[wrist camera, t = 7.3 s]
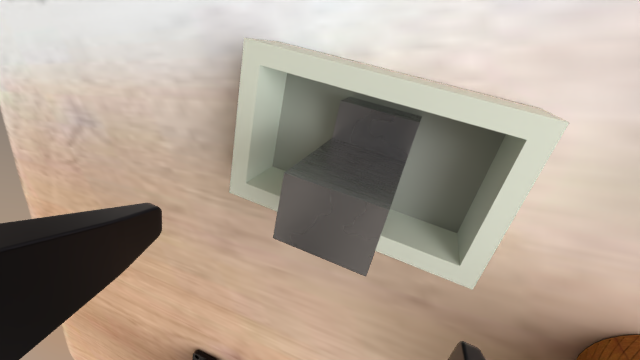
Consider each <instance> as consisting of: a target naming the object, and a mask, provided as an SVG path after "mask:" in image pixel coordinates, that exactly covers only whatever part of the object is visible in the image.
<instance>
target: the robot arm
mask: <svg viewBox="0 0 640 360" xmlns="http://www.w3.org/2000/svg"><path fill="white" fill-rule="evenodd" d="M161 231H162V211H161V209H160V208H159V207H158V206H155V205H153V204H151V203H142V204H135V205H128V206H121V207H114V208H107V209H100V210H93V211H86V212H79V213H71V214H64V215H57V216H50V217H43V218H36V219H30V220H22V221H16V222H8V223H1V224H0V360H19V359H20V358H22V357H23V356H24V355H25V354H26V353H28V352H29V351H30V350H31V349H32V348H34V347H35V346H36V345H37V344H38V343H40V342H41V341H42V340H43V339H44V338H46V337H47V336H48V335H49V334H50V333H51V332H53V331H54V330H55V329H56V328H57V327H59V326H60V325H61V324H62V323H63V322H65V321H66V320H67V319H68V318H69V317H71V316H72V315H73V314H74V313H75V312H77V311H78V310H79V309H80V308H81V307H82V306H84V305H85V304H86V303H87V302H88V301H90V300H91V299H92V298H93V297H94V296H96V295H97V294H98V293H99V292H100V291H102V290H103V289H104V288H105V287H106V286H107V285H109V284H110V283H111V282H112V281H113V280H115V279H116V278H117V277H118V276H119V275H120V274H121V273H122V272H124V271H125V270H126V269H127V268H128V267H129V266H130V265H131V264H132V263H133V262H134V261H135V260H136V259H137V258H138V257H139V256H140V255H141V254H142V253H143V252H144V251H145V250H146V249H147V248H148V247H149V246H150V245H151V244H152V243H153V242H154V241H155V240H156V239H157V238H158V236H159V235H160V233H161ZM193 360H216V359H214V358H212V357H210V356H208V355H207V354H205V353H203V352H201V351H199V350H196V351H195V352H194V354H193ZM448 360H486V359H485V358H484V356H483V354H482V353H481V351H480V350H479V349H478V348H477V347H475V346H473V345H471V344H468V343H466V342H464V341H461V342H459V343H458V344H457V346H456V347H455V349H454V351H453V352H452V354H451V355H450V357H449V359H448Z"/></svg>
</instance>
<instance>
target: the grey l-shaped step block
mask: <svg viewBox="0 0 640 360" xmlns="http://www.w3.org/2000/svg"><path fill="white" fill-rule="evenodd" d="M421 118H422V116H419V115H415V114H412V113H408V112H404V111H401V110H397V109H393V108H390V107H386V106H383V105H379V104H375V103H372V102H368V101H364V100H361V99H357V98H353V97H348V98H345V99H343V100H341V101H340V106H339V110H338V114H337V119H336V123H335V127H334V132H333V136H332V138H331V139H330V140H329V141H327V142H326V143H324V144H323V145H322V146H320V147H319V148H317V149H316V150H315V151H313V152H312V153H311V154H309V155H308V156H306V157H305V158H304V159H302V160H301V161H300V162H298V163H297V164H295V165H294V166H293V167H291V168H290V169H288V170H287V171H286V172H284V176H283V182H282V188H281V194H280V200H279V206H278V212H277V218H276V224H275V230H274V235H273V238H274V239H277V240H279V241H281V242H284V243H286V244H289V245H291V246H293V247H296V248H298V249H301V250H303V251H306V252H308V253H310V254H313V255H315V256H318V257H320V258H322V259H325V260H327V261H330V262H332V263H334V264H337V265H339V266H342V267H344V268H346V269H349V270H351V271H354V272H356V273H359V274H361V275H363V276H366V275H367V273H368V270H369V267H370V264H371V261H372V258H373V256H374V253H375V250H376V247H377V244H378V241H379V239H380V236H381V233H382V230H383V227H384V224H385V221H386V219H387V216H388V213H389V210H390V207H391V204H392V201H393V199H394V196H395V193H396V190H397V187H398V184H399V181H400V178H401V175H402V172H403V169H404V166H405V164H406V161H407V158H408V155H409V152H410V149H411V146H412V144H413V141H414V138H415V135H416V132H417V129H418V127H419V124H420V121H421Z"/></svg>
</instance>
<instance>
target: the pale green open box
mask: <svg viewBox="0 0 640 360" xmlns="http://www.w3.org/2000/svg"><path fill="white" fill-rule="evenodd" d="M348 97H353V98H357V99H361V100H364V101H368V102H372V103H375V104H379V105H383V106H386V107H390V108H393V109H397V110H401V111H404V112H408V113H412V114H415V115H419V116H422V118H421V121H420V124H419V127H418V129H417V132H416V135H415V138H414V141H413V144H412V146H411V149H410V152H409V155H408V158H407V161H406V164H405V166H404V169H403V172H402V175H401V178H400V181H399V184H398V187H397V190H396V193H395V196H394V199H393V201H392V204H391V207H390V210H389V213H388V216H387V219H386V221H385V224H384V227H383V230H382V233H381V236H380V239H379V241H378V244H377V247H376V250H375V251H377V252H379V253H382V254H384V255H387V256H389V257H392V258H394V259H397V260H399V261H402V262H404V263H407V264H409V265H412V266H414V267H417V268H419V269H422V270H424V271H427V272H429V273H432V274H434V275H437V276H439V277H442V278H444V279H447V280H449V281H452V282H454V283H457V284H459V285H462V286H464V287H467V288H469V289H472V290H473V288H474V287H475V285H476V283H477V281H478V280H479V278H480V276H481V274H482V273H483V271H484V269H485V268H486V266H487V264H488V262H489V261H490V259H491V257H492V255H493V254H494V252H495V250H496V249H497V247H498V245H499V243H500V242H501V240H502V238H503V236H504V235H505V233H506V231H507V230H508V228H509V226H510V224H511V223H512V221H513V219H514V217H515V216H516V214H517V212H518V210H519V209H520V207H521V205H522V204H523V202H524V200H525V198H526V197H527V195H528V193H529V191H530V190H531V188H532V186H533V185H534V183H535V181H536V179H537V178H538V176H539V174H540V172H541V171H542V169H543V167H544V166H545V164H546V162H547V160H548V159H549V157H550V155H551V153H552V152H553V150H554V148H555V146H556V145H557V143H558V141H559V140H560V138H561V136H562V134H563V133H564V131H565V129H566V127H567V126H568V124H569V122H567V121H565V120H563V119H561V118H559V117H557V116H555V115H553V114H551V113H549V112H547V111H545V110H543V109H540V108H536V107H532V106H528V105H524V104H520V103H516V102H513V101H509V100H505V99H501V98H497V97H493V96H489V95H485V94H481V93H477V92H473V91H470V90H466V89H462V88H458V87H454V86H450V85H446V84H442V83H438V82H434V81H430V80H427V79H423V78H419V77H415V76H411V75H407V74H403V73H399V72H395V71H391V70H387V69H384V68H380V67H376V66H372V65H368V64H364V63H360V62H356V61H352V60H348V59H344V58H340V57H337V56H333V55H329V54H325V53H321V52H317V51H313V50H309V49H305V48H301V47H297V46H294V45H290V44H286V43H282V42H278V41H268V40H258V39H249V38H244V44H243V54H242V65H241V75H240V85H239V96H238V106H237V117H236V127H235V138H234V148H233V158H232V169H231V179H230V190H229V193H232V194H234V195H237V196H239V197H242V198H244V199H247V200H249V201H252V202H254V203H257V204H259V205H262V206H264V207H267V208H269V209H272V210H274V211H277V212H278V206H279V200H280V194H281V188H282V182H283V176H284V172H286V171H287V170H288V169H290V168H291V167H293V166H294V165H295V164H297V163H298V162H300V161H301V160H302V159H304V158H305V157H306V156H308V155H309V154H311V153H312V152H313V151H315V150H316V149H317V148H319V147H320V146H322V145H323V144H324V143H326V142H327V141H329V140H330V139H331V138H332V136H333V132H334V127H335V123H336V119H337V114H338V110H339V106H340V101H341V100H343V99H345V98H348Z"/></svg>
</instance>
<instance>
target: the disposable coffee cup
mask: <svg viewBox="0 0 640 360" xmlns="http://www.w3.org/2000/svg"><path fill="white" fill-rule="evenodd" d="M576 360H640V335H627V336H618V337H614V338H609V339H605V340H602V341H600V342H597V343H595V344H593V345H591V346H590V347H588V348H586V349H585V350H584V351H583V352H582V353H581V354H580V355H579V356H578V358H577V359H576Z"/></svg>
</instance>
